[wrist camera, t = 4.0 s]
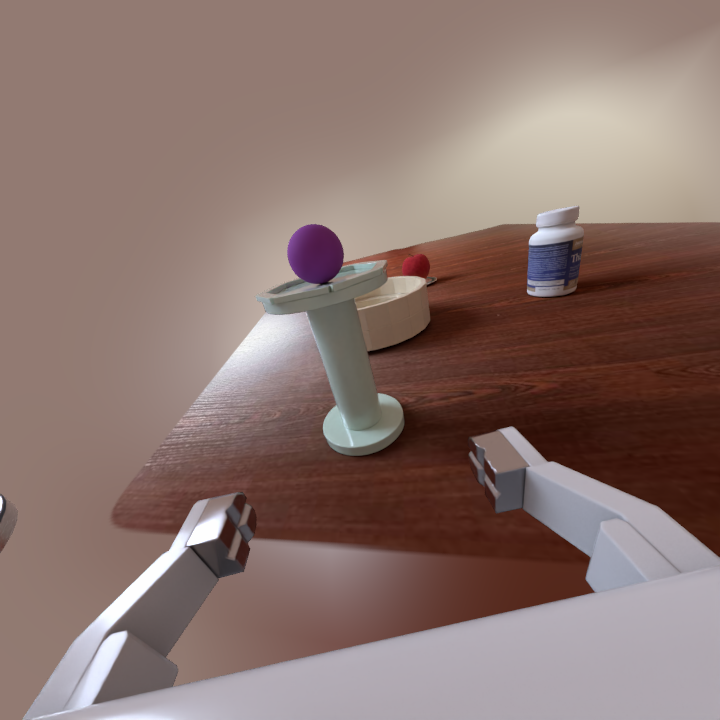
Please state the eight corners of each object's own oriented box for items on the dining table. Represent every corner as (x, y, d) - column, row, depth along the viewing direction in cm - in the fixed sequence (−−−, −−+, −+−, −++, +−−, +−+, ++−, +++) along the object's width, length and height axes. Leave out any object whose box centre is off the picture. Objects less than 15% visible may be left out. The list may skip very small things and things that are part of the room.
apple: (393, 291, 56) (387, 260, 53) (408, 281, 61) (403, 252, 59) (429, 288, 51) (425, 253, 48) (441, 277, 57) (438, 246, 54)
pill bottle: (578, 296, 31) (590, 205, 27) (525, 299, 34) (529, 217, 30) (575, 284, 35) (585, 202, 31) (527, 288, 38) (531, 214, 34)
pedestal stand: (303, 465, 17) (231, 306, 13) (332, 399, 23) (291, 277, 19) (413, 462, 15) (377, 276, 11) (412, 392, 22) (389, 255, 17)
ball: (290, 295, 14) (268, 235, 12) (308, 279, 16) (291, 228, 15) (343, 285, 13) (327, 221, 12) (353, 270, 16) (340, 215, 14)
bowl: (300, 364, 32) (285, 323, 30) (334, 320, 46) (325, 290, 44) (435, 346, 28) (429, 296, 26) (426, 304, 42) (422, 269, 40)
